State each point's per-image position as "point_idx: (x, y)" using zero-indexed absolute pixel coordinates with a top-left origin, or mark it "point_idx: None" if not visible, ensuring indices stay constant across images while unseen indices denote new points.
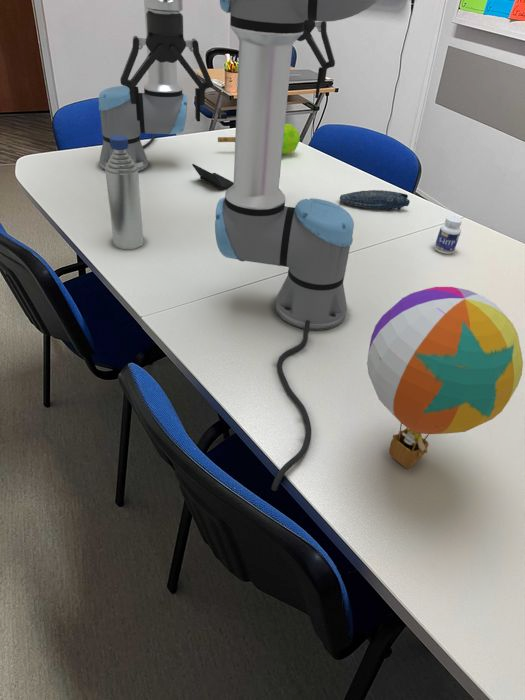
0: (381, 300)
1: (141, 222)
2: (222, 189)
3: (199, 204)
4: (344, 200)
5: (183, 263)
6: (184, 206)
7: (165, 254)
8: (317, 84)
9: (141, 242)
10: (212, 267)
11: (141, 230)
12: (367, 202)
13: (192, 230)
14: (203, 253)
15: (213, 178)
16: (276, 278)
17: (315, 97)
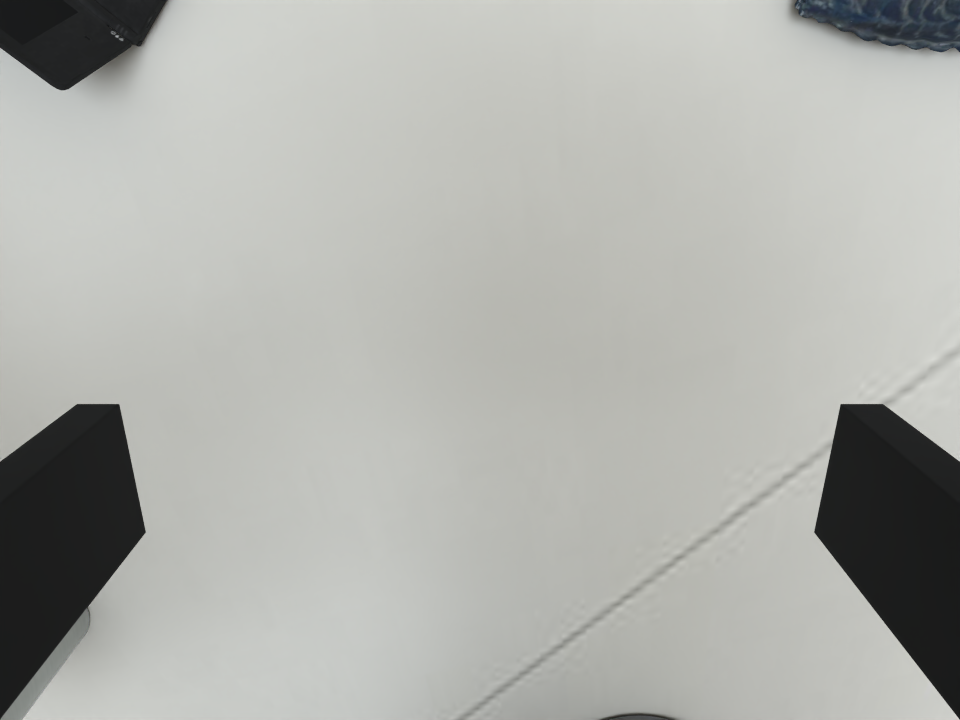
0: (826, 707)
1: (43, 665)
2: (144, 37)
3: (115, 252)
4: (824, 16)
5: (254, 672)
6: (66, 294)
7: (183, 643)
8: (922, 655)
9: (84, 625)
10: (341, 671)
11: (60, 650)
12: (954, 39)
13: (192, 484)
14: (288, 611)
15: (67, 57)
16: (532, 679)
17: (822, 534)
